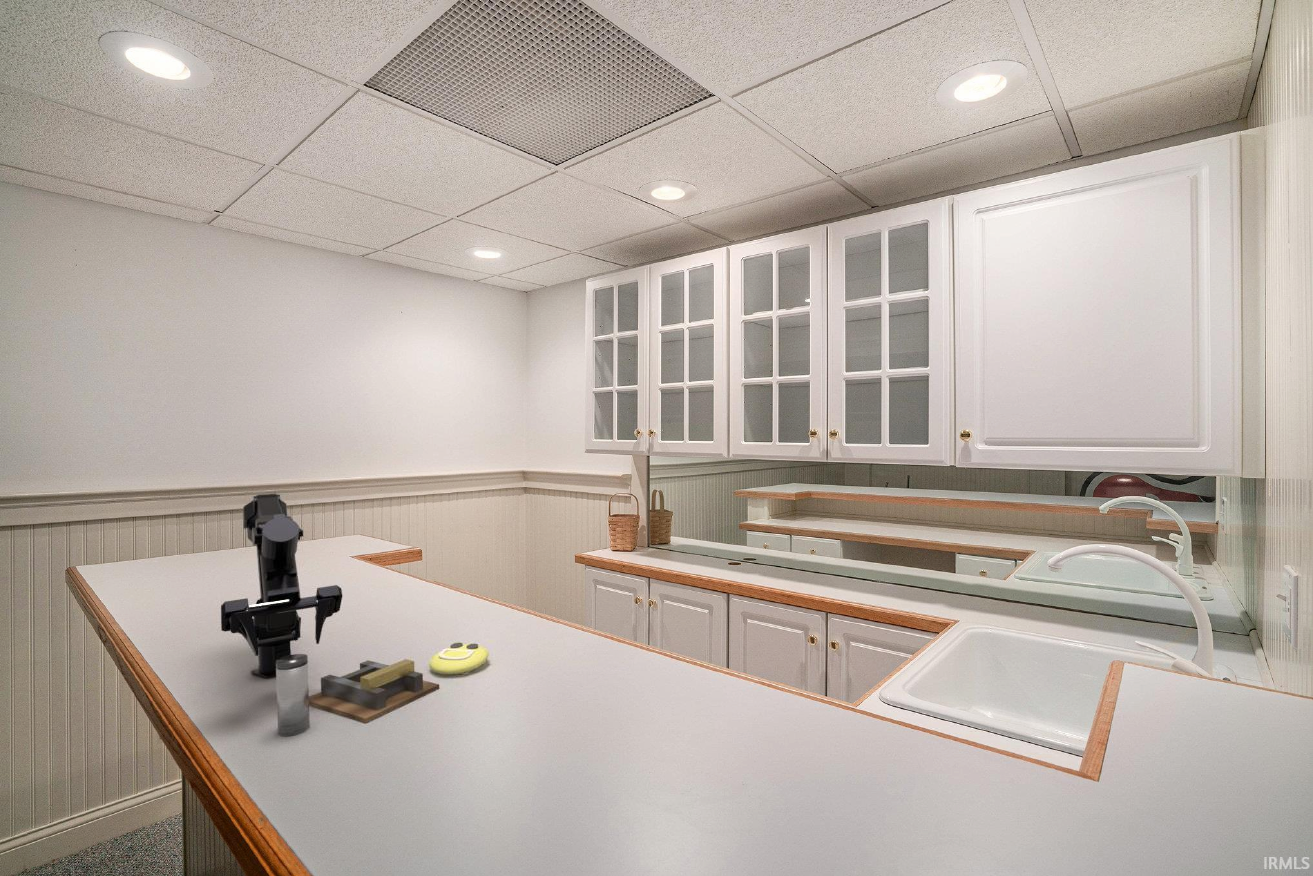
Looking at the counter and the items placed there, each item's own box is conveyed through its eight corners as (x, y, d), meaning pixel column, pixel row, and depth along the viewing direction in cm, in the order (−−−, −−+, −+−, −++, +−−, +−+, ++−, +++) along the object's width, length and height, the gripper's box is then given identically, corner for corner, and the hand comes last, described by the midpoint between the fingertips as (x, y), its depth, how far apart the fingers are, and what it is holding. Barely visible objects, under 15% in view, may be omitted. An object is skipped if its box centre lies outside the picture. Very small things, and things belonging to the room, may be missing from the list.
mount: (302, 703, 116) (301, 682, 116) (377, 673, 130) (377, 654, 130) (365, 723, 107) (365, 701, 107) (439, 688, 121) (438, 669, 121)
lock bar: (360, 688, 112) (360, 677, 112) (406, 669, 121) (405, 659, 121) (369, 690, 111) (368, 679, 111) (414, 671, 120) (414, 661, 120)
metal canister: (272, 732, 104) (270, 661, 104) (299, 721, 108) (297, 652, 108) (288, 738, 102) (286, 665, 102) (315, 726, 106) (313, 656, 106)
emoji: (471, 664, 125) (497, 639, 137) (416, 661, 127) (447, 637, 139) (472, 682, 125) (498, 656, 137) (418, 680, 128) (448, 654, 139)
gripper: (330, 591, 128) (342, 659, 119) (219, 608, 117) (223, 685, 108) (336, 558, 122) (349, 628, 113) (219, 572, 111) (223, 651, 102)
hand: (288, 648), depth 109 cm, fingers open, 9 cm apart
